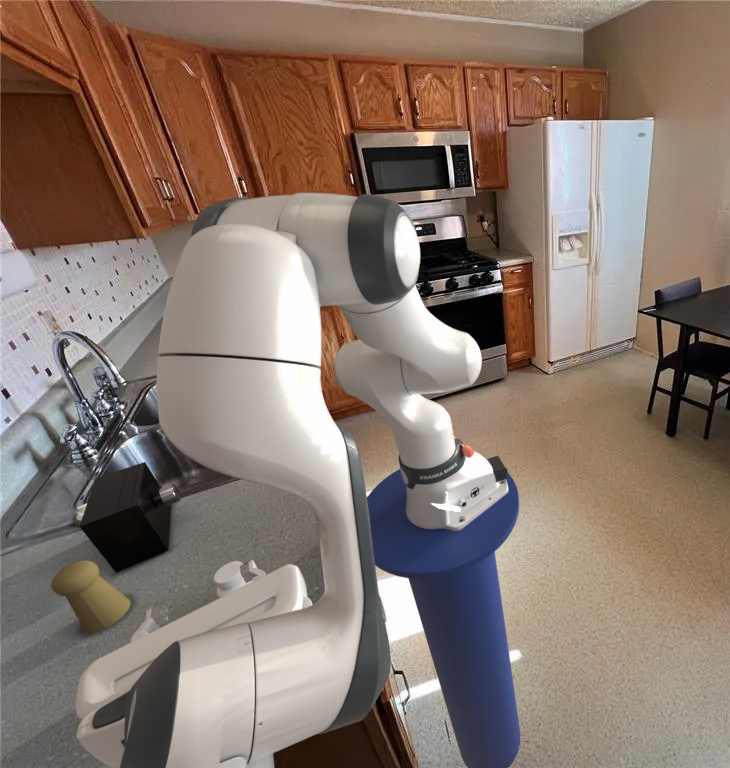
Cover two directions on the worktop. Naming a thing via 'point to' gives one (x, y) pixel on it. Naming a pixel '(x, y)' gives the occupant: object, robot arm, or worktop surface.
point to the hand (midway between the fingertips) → (205, 586)
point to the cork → (90, 596)
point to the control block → (127, 517)
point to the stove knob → (79, 515)
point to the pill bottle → (229, 578)
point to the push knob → (167, 495)
